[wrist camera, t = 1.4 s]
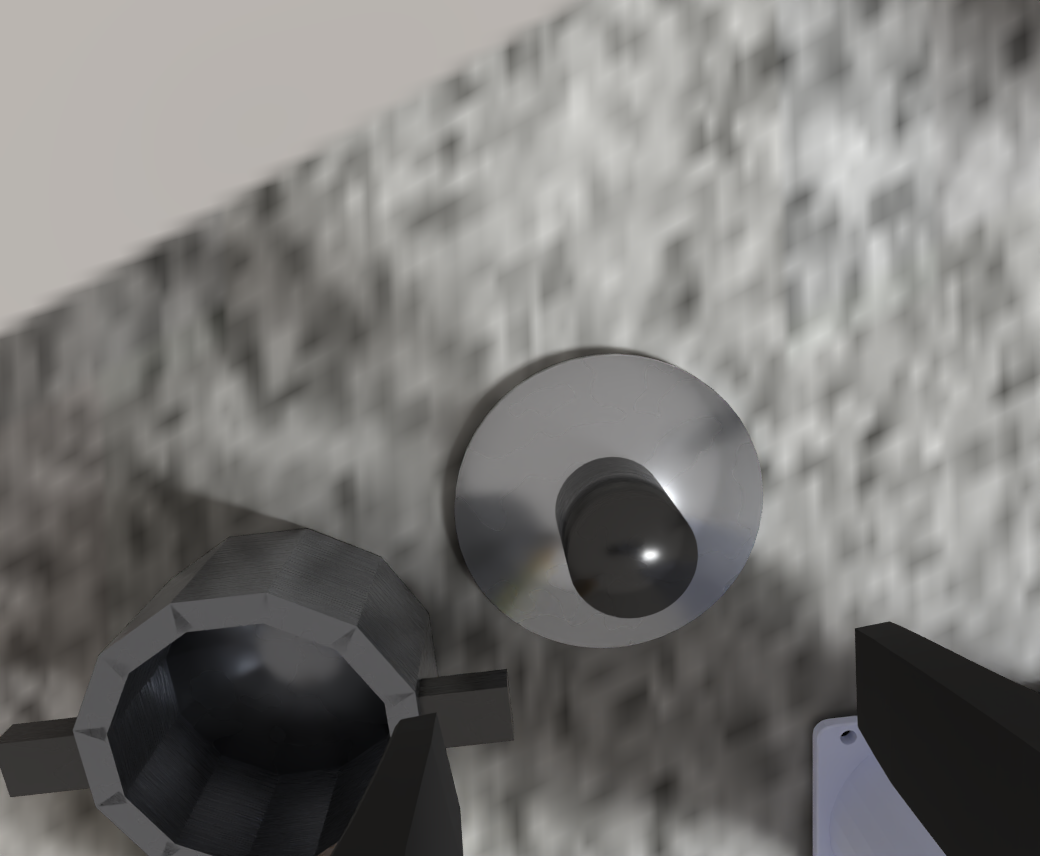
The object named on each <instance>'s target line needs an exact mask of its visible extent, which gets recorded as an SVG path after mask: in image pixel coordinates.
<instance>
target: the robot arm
mask: <svg viewBox="0 0 1040 856" xmlns="http://www.w3.org/2000/svg"><path fill="white" fill-rule="evenodd" d="M855 648H856V685H857V716H848V717H840V718H831V719H826V720H822V721H821V722H819V723H818V724H817V725H816V726H815V728H814V730H813V856H1040V694H1039V693H1037V692H1035V691H1033V690H1030V689H1028V688H1026V687H1024V686H1022V685H1020V684H1018V683H1015V682H1013V681H1011V680H1009V679H1007V678H1005V677H1003V676H1001V675H999V674H997V673H995V672H993V671H990V670H988V669H986V668H984V667H982V666H980V665H978V664H976V663H974V662H972V661H970V660H968V659H966V658H964V657H962V656H960V655H958V654H956V653H954V652H952V651H950V650H948V649H946V648H944V647H942V646H940V645H938V644H936V643H934V642H932V641H930V640H928V639H926V638H924V637H922V636H920V635H918V634H916V633H914V632H912V631H910V630H908V629H905V628H903V627H901V626H899V625H897V624H894V623H892V622H885V623H880V624H875V625H870V626H865V627H860V628H855ZM848 730H850V732H849V733H848V734H847V735H846V736H841V735H842V734H843V733H844V732H845V731H848ZM330 856H463V845H462V830H461V814H460V806H459V802H458V798H457V794H456V790H455V785H454V781H453V777H452V773H451V769H450V765H449V761H448V757H447V753H446V749H445V745H444V741H443V737H442V732H441V728H440V724H439V720H438V716H437V712H435V713H430V714H425V715H420V716H415V717H410V718H405V719H401V720H400V721H399V722H398V724H397V725H396V726H395V728H394V731H393V733H392V735H391V738H390V740H389V742H388V745H387V747H386V749H385V751H384V754H383V756H382V758H381V760H380V762H379V765H378V767H377V769H376V771H375V773H374V775H373V777H372V779H371V781H370V783H369V785H368V787H367V789H366V791H365V793H364V795H363V797H362V799H361V801H360V803H359V805H358V806H357V808H356V810H355V812H354V814H353V816H352V818H351V820H350V822H349V824H348V826H347V827H346V829H345V831H344V833H343V835H342V836H341V838H340V840H339V841H338V843H337V845H336V846H335V848H334V850H333V851H332V853H331V855H330Z"/></svg>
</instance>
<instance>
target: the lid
mask: <svg viewBox="0 0 1040 856" xmlns="http://www.w3.org/2000/svg"><path fill="white" fill-rule="evenodd" d="M762 506H763V485H762V475H761V469H760V465H759V461H758V457H757V453H756V450H755V448H754V445H753V443H752V440H751V438H750V435H749V434H748V432H747V430H746V428H745V427H744V425H743V423H742V421H741V420H740V418H739V417H738V416H737V414H736V413H735V412H734V411H733V409H732V408H731V407H730V406H729V404H728V403H727V402H726V401H725V400H724V399H723V398H722V397H721V396H720V395H719V394H717V393H716V392H715V391H714V390H713V389H712V388H710V387H709V386H708V385H706V384H705V383H703V382H702V381H701V380H699V379H698V378H696V377H695V376H693V375H691V374H690V373H688V372H686V371H684V370H682V369H680V368H678V367H676V366H674V365H671V364H668V363H665V362H663V361H660V360H657V359H653V358H648V357H643V356H639V355H631V354H618V353H611V354H594V355H588V356H583V357H578V358H573V359H570V360H567V361H564V362H560V363H557V364H554V365H552V366H550V367H548V368H546V369H543V370H541V371H539V372H537V373H535V374H533V375H532V376H530V377H529V378H527V379H525V380H524V381H522V382H521V383H519V384H518V385H516V386H515V387H514V388H513V389H512V390H510V391H509V392H508V393H507V394H506V395H504V396H503V397H502V398H501V399H500V400H499V401H498V402H497V403H496V404H495V406H494V407H493V408H492V409H491V410H490V411H489V412H488V413H487V415H486V416H485V417H484V419H483V420H482V422H481V423H480V425H479V426H478V428H477V429H476V431H475V432H474V434H473V436H472V438H471V440H470V442H469V444H468V446H467V448H466V451H465V454H464V457H463V460H462V462H461V465H460V469H459V474H458V479H457V484H456V494H455V510H454V511H455V523H456V532H457V536H458V541H459V545H460V549H461V552H462V554H463V557H464V560H465V562H466V565H467V567H468V569H469V571H470V572H471V574H472V576H473V578H474V580H475V582H476V583H477V584H478V586H479V587H480V588H481V590H482V591H483V593H484V594H485V595H486V597H487V598H488V599H489V600H490V601H491V602H492V603H493V604H494V605H495V606H496V607H497V608H498V609H499V610H500V611H501V612H503V613H504V614H505V615H506V616H508V617H509V618H510V619H511V620H513V621H514V622H516V623H517V624H519V625H521V626H522V627H524V628H526V629H527V630H529V631H531V632H533V633H535V634H538V635H540V636H542V637H545V638H547V639H550V640H553V641H557V642H560V643H564V644H568V645H574V646H580V647H590V648H612V647H624V646H629V645H634V644H640V643H643V642H647V641H650V640H653V639H656V638H659V637H662V636H664V635H666V634H669V633H671V632H673V631H675V630H677V629H679V628H681V627H683V626H684V625H686V624H688V623H689V622H691V621H693V620H694V619H696V618H697V617H698V616H700V615H701V614H702V613H703V612H705V611H706V610H707V609H709V608H710V607H711V606H712V605H713V604H714V603H715V602H716V601H717V600H718V599H719V598H720V597H721V596H722V595H723V594H724V593H725V592H726V591H727V589H728V588H729V587H730V586H731V584H732V583H733V582H734V581H735V579H736V578H737V576H738V575H739V573H740V571H741V570H742V568H743V567H744V565H745V563H746V561H747V559H748V557H749V555H750V553H751V550H752V548H753V546H754V543H755V540H756V536H757V533H758V530H759V526H760V520H761V514H762Z"/></svg>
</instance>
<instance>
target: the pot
mask: <svg viewBox="0 0 1040 856" xmlns="http://www.w3.org/2000/svg"><path fill="white" fill-rule="evenodd" d="M435 712H437V716H438V720H439V724H440V728H441V732H442V737H443V741H444V745H445V748H449V747H458V746H467V745H476V744H485V743H494V742H503V741H511V740H514V732H513V716H512V708H511V700H510V692H509V684H508V675H507V669H504V670H495V671H486V672H477V673H468V674H459V675H451V676H442V677H438V672H437V665H436V658H435V652H434V645H433V638H432V632H431V625H430V618H429V613H428V612H427V610H426V609H425V608H424V607H423V606H422V605H421V603H420V602H419V601H418V600H417V599H416V597H415V596H414V595H413V594H412V593H411V592H410V590H409V589H408V588H407V587H406V586H405V585H404V583H403V582H402V581H401V580H400V579H399V577H398V576H397V575H396V574H395V573H394V572H393V570H392V569H391V568H390V567H389V566H388V565H387V563H386V562H385V561H384V560H383V559H382V558H381V557H380V556H377V555H375V554H372V553H369V552H367V551H364V550H362V549H359V548H357V547H354V546H351V545H349V544H346V543H344V542H341V541H338V540H336V539H333V538H331V537H328V536H326V535H323V534H320V533H318V532H315V531H313V530H310V529H298V530H289V531H280V532H271V533H262V534H252V535H243V536H234V537H228V538H227V539H226V540H224V541H223V542H222V543H220V544H219V545H217V546H216V547H215V548H213V549H212V550H211V551H209V552H208V553H206V554H205V555H204V556H202V557H201V558H200V559H198V560H197V561H196V562H194V563H193V564H191V565H190V566H189V567H187V568H186V569H185V570H183V571H182V572H181V573H179V574H178V575H176V576H175V577H174V578H172V579H171V580H170V581H169V582H168V583H167V584H166V585H165V586H164V587H163V588H162V589H161V590H160V591H159V592H158V593H157V594H156V595H155V596H154V597H153V599H152V600H151V601H150V602H149V603H148V604H147V605H146V606H145V607H144V608H143V609H142V610H141V611H140V612H139V613H138V614H137V615H136V616H135V617H134V619H133V620H132V621H131V622H130V623H129V624H128V625H127V626H126V627H125V628H124V629H123V630H122V631H121V632H120V633H119V634H118V635H117V636H116V638H115V639H114V640H113V641H112V642H111V643H110V644H109V645H108V646H107V647H106V648H105V649H104V650H103V651H102V652H101V653H100V654H99V656H98V659H97V662H96V665H95V668H94V670H93V673H92V676H91V679H90V682H89V685H88V688H87V691H86V694H85V696H84V699H83V702H82V705H81V708H80V711H79V714H78V717H76V718H67V719H58V720H49V721H40V722H31V723H22V724H13V725H12V726H11V727H10V728H9V729H8V730H7V731H6V732H5V733H4V734H3V735H2V736H1V737H0V768H1V771H2V774H3V777H4V780H5V783H6V786H7V789H8V792H9V795H10V797H16V796H25V795H33V794H42V793H51V792H60V791H69V790H78V789H87V788H90V789H91V793H92V796H93V799H94V803H95V806H96V808H97V809H98V810H100V811H101V812H102V813H103V814H104V815H105V816H106V817H107V818H108V819H109V820H110V821H111V822H113V823H114V824H115V825H116V826H117V827H118V828H119V829H120V830H121V831H122V832H123V833H125V834H126V835H127V836H128V837H129V838H130V839H131V840H132V841H133V842H134V843H135V844H136V845H138V846H139V847H140V848H141V849H142V850H143V851H144V852H145V853H146V854H147V855H148V856H330V855H331V853H332V851H333V850H334V848H335V846H336V845H337V843H338V841H339V840H340V838H341V836H342V835H343V833H344V831H345V829H346V827H347V826H348V824H349V822H350V820H351V818H352V816H353V814H354V812H355V810H356V808H357V806H358V805H359V803H360V801H361V799H362V797H363V795H364V793H365V791H366V789H367V787H368V785H369V783H370V781H371V779H372V777H373V775H374V773H375V771H376V769H377V767H378V765H379V762H380V760H381V758H382V756H383V754H384V751H385V749H386V747H387V745H388V742H389V740H390V738H391V735H392V733H393V731H394V728H395V726H396V725H397V724H398V722H399V721H400V720H401V719H405V718H410V717H415V716H420V715H425V714H430V713H435Z"/></svg>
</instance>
